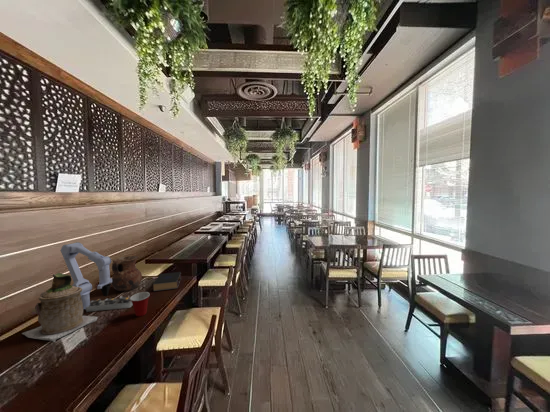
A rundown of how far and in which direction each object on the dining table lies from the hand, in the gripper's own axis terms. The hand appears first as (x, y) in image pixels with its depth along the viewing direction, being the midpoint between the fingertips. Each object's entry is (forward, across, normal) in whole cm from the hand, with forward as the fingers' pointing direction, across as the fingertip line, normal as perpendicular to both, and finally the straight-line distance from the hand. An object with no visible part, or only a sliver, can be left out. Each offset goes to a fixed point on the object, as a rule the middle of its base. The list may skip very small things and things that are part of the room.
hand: (105, 295), depth 159 cm
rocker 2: (+4, 0, -2) cm, 5 cm away
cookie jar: (+9, -21, +13) cm, 26 cm away
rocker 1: (+4, 0, +6) cm, 7 cm away
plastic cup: (+9, -14, -26) cm, 31 cm away
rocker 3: (+4, 0, -11) cm, 12 cm away
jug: (+9, +36, +2) cm, 38 cm away
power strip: (+9, +2, -2) cm, 9 cm away
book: (+9, +36, -30) cm, 48 cm away
